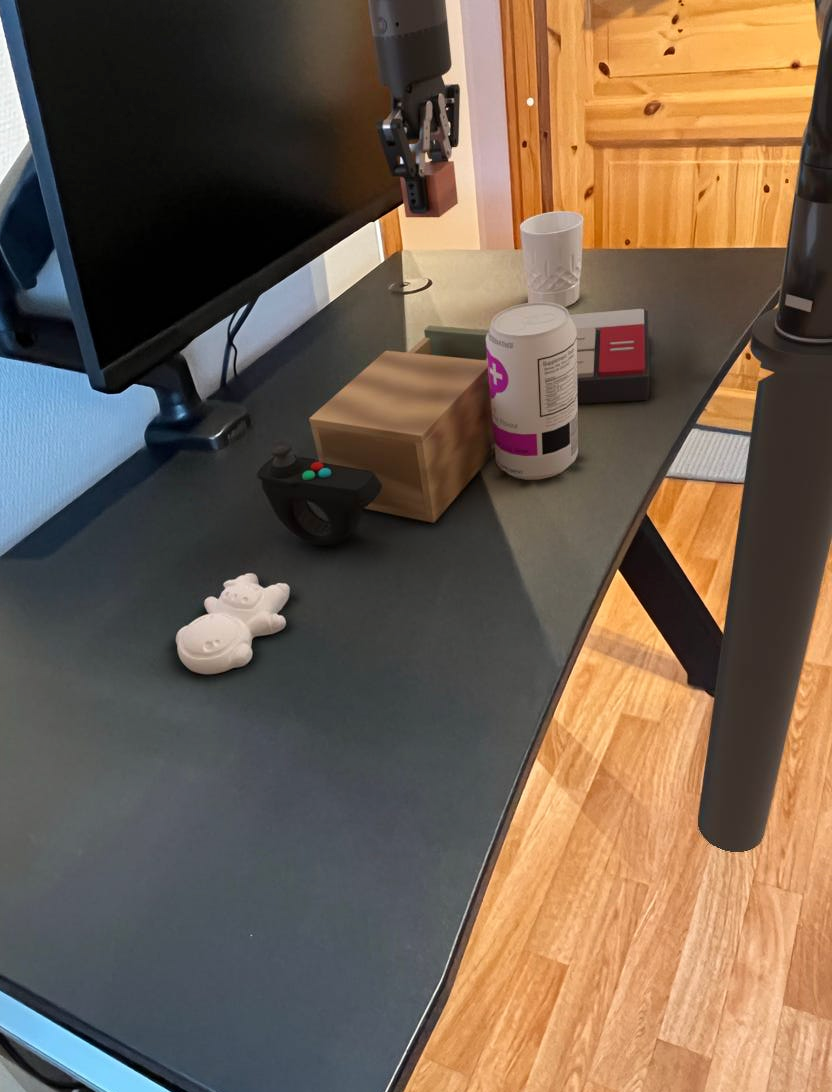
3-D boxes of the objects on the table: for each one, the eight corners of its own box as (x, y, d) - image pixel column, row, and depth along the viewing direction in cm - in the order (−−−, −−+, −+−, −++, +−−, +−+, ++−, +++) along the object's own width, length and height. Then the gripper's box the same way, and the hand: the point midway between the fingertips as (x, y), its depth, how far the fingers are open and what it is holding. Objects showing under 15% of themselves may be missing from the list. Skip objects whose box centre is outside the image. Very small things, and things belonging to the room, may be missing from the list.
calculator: (543, 376, 94) (551, 310, 104) (544, 411, 97) (552, 344, 107) (650, 369, 91) (648, 302, 101) (648, 405, 94) (646, 337, 104)
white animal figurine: (314, 602, 79) (306, 576, 77) (223, 687, 73) (213, 661, 71) (245, 576, 83) (237, 551, 81) (155, 654, 77) (143, 629, 75)
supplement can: (499, 488, 87) (487, 344, 77) (493, 445, 93) (481, 307, 83) (583, 477, 85) (582, 330, 75) (571, 434, 91) (569, 293, 82)
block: (458, 203, 99) (453, 160, 96) (439, 217, 96) (434, 174, 93) (424, 203, 101) (419, 162, 98) (405, 217, 98) (399, 175, 95)
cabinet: (398, 430, 99) (385, 350, 92) (500, 445, 92) (493, 361, 86) (328, 500, 91) (308, 418, 84) (434, 523, 84) (421, 435, 78)
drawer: (453, 372, 105) (446, 309, 100) (542, 382, 99) (539, 315, 94) (377, 448, 95) (365, 382, 90) (471, 463, 89) (464, 394, 84)
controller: (292, 517, 90) (269, 431, 83) (397, 538, 84) (380, 447, 77) (269, 542, 87) (243, 455, 80) (375, 565, 81) (356, 473, 75)
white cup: (556, 283, 121) (554, 207, 114) (596, 296, 115) (596, 217, 109) (511, 303, 119) (506, 227, 112) (550, 317, 113) (548, 238, 107)
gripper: (404, 37, 81) (428, 228, 92) (476, 1, 89) (490, 181, 100) (339, 45, 85) (370, 228, 96) (413, 10, 93) (433, 183, 104)
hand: (431, 203), depth 98 cm, fingers closed on block, 4 cm apart
